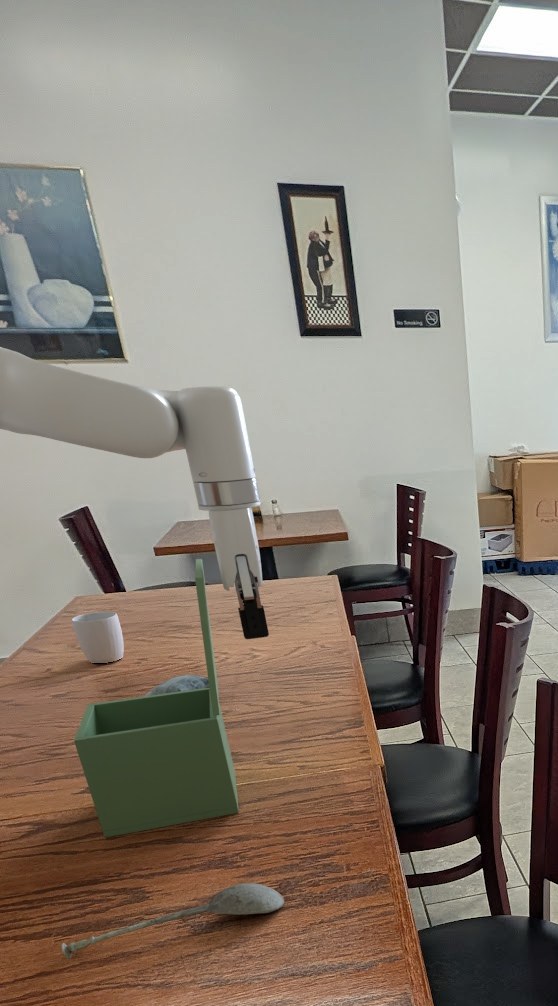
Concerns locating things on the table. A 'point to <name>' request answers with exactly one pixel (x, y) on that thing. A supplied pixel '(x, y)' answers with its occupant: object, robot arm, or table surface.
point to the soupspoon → (205, 910)
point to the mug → (99, 636)
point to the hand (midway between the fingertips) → (256, 636)
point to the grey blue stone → (180, 684)
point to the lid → (207, 636)
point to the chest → (156, 761)
